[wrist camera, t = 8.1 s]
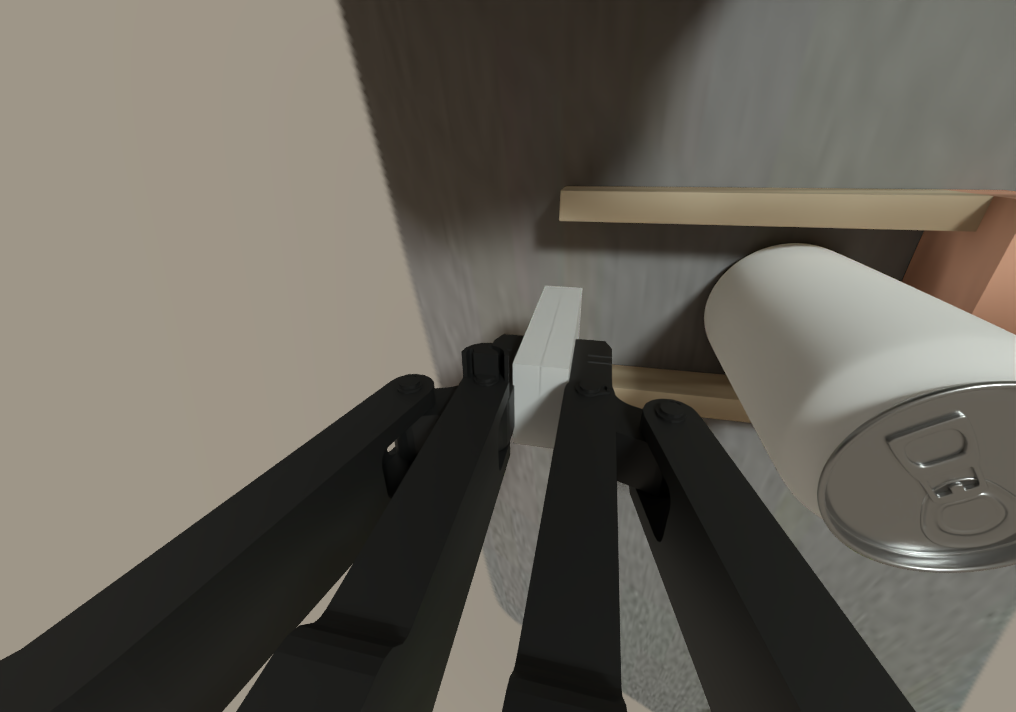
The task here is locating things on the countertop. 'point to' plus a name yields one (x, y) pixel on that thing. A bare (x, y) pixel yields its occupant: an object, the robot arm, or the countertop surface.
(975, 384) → the can
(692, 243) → the countertop surface
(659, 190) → the guide lane
